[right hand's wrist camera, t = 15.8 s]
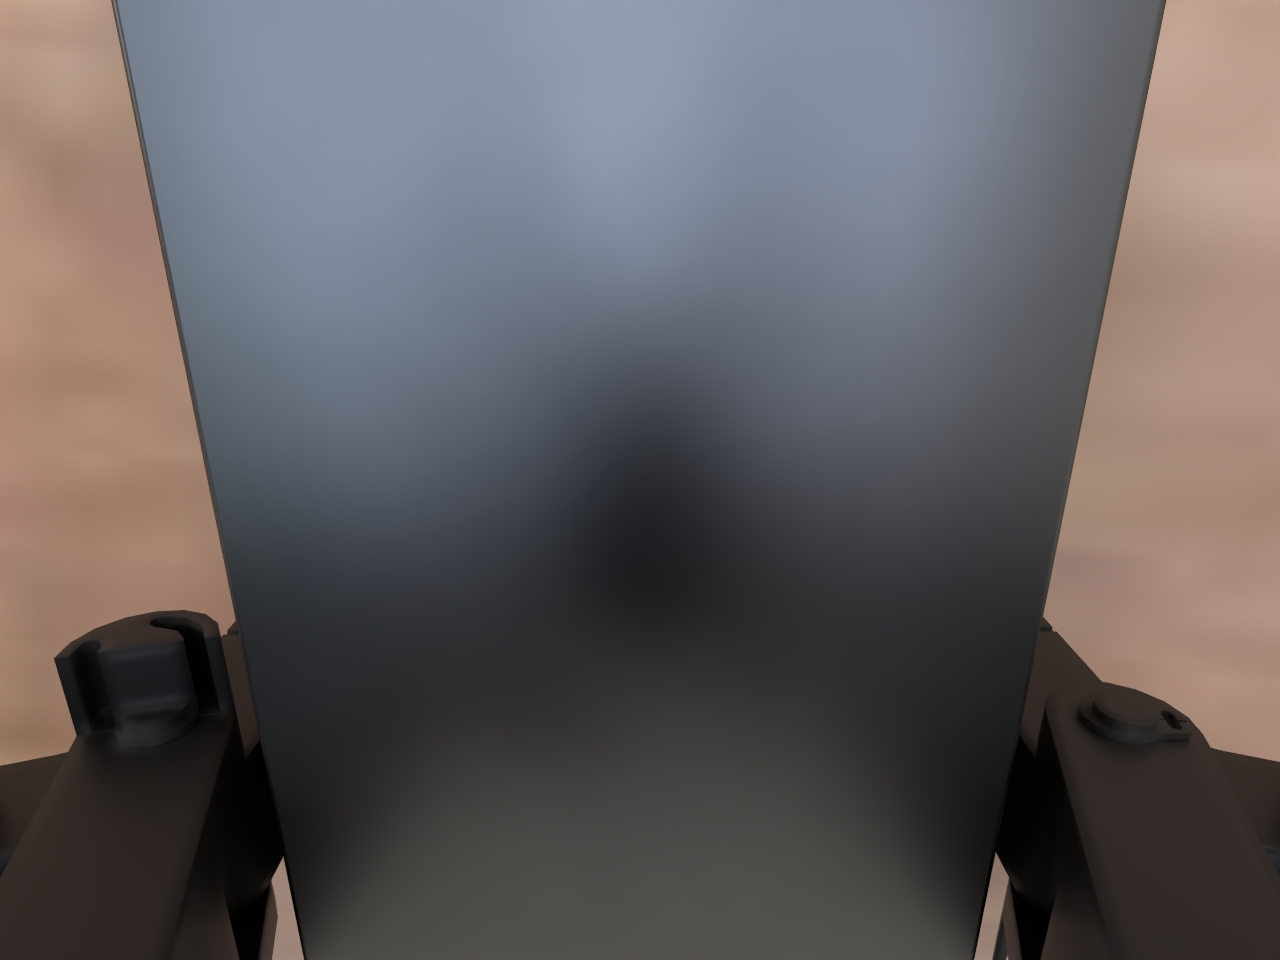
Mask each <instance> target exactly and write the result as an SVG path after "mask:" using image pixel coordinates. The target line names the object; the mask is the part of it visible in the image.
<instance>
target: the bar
mask: <svg viewBox="0 0 1280 960" xmlns="http://www.w3.org/2000/svg"><path fill="white" fill-rule="evenodd" d="M111 1H112V6H113V11H114V16H115V21H116V26H117V31H118V36H119V41H120V46H121V51H122V56H123V61H124V66H125V71H126V76H127V81H128V86H129V91H130V96H131V101H132V106H133V111H134V116H135V121H136V126H137V131H138V136H139V141H140V146H141V151H142V156H143V161H144V165H145V170H146V175H147V180H148V185H149V190H150V195H151V200H152V205H153V210H154V215H155V220H156V225H157V230H158V235H159V240H160V245H161V250H162V255H163V260H164V265H165V270H166V275H167V280H168V285H169V290H170V295H171V300H172V305H173V310H174V315H175V320H176V325H177V330H178V334H179V339H180V344H181V349H182V354H183V359H184V364H185V369H186V374H187V379H188V384H189V389H190V394H191V399H192V404H193V409H194V414H195V419H196V424H197V429H198V434H199V439H200V444H201V449H202V454H203V459H204V464H205V469H206V474H207V479H208V484H209V489H210V494H211V499H212V504H213V508H214V513H215V518H216V523H217V528H218V533H219V538H220V543H221V548H222V553H223V558H224V563H225V568H226V573H227V578H228V583H229V588H230V593H231V598H232V603H233V608H234V613H235V618H236V623H237V628H238V633H239V638H240V643H241V648H242V653H243V658H244V663H245V668H246V673H247V677H248V682H249V687H250V692H251V697H252V702H253V707H254V712H255V717H256V722H257V727H258V732H259V737H260V742H261V747H262V752H263V757H264V762H265V767H266V772H267V777H268V782H269V787H270V792H271V797H272V802H273V807H274V812H275V817H276V822H277V827H278V832H279V837H280V842H281V847H282V851H283V856H284V861H285V866H286V871H287V876H288V881H289V886H290V891H291V896H292V901H293V906H294V911H295V916H296V921H297V926H298V931H299V936H300V941H301V946H302V951H303V956H304V960H974V957H975V952H976V947H977V942H978V938H979V933H980V928H981V923H982V918H983V913H984V908H985V903H986V898H987V893H988V888H989V883H990V878H991V873H992V868H993V863H994V858H995V853H996V848H997V843H998V838H999V833H1000V828H1001V823H1002V818H1003V813H1004V808H1005V803H1006V798H1007V793H1008V788H1009V783H1010V778H1011V773H1012V768H1013V763H1014V758H1015V753H1016V748H1017V743H1018V738H1019V733H1020V728H1021V723H1022V718H1023V713H1024V708H1025V703H1026V698H1027V693H1028V688H1029V683H1030V678H1031V673H1032V668H1033V663H1034V658H1035V653H1036V648H1037V643H1038V638H1039V633H1040V628H1041V623H1042V618H1043V613H1044V608H1045V603H1046V598H1047V593H1048V588H1049V583H1050V578H1051V573H1052V568H1053V563H1054V558H1055V553H1056V548H1057V543H1058V538H1059V533H1060V528H1061V523H1062V518H1063V513H1064V508H1065V503H1066V498H1067V493H1068V488H1069V483H1070V478H1071V473H1072V468H1073V463H1074V458H1075V453H1076V448H1077V443H1078V438H1079V433H1080V428H1081V423H1082V418H1083V413H1084V408H1085V403H1086V398H1087V393H1088V388H1089V383H1090V378H1091V373H1092V368H1093V363H1094V358H1095V353H1096V348H1097V343H1098V338H1099V333H1100V328H1101V323H1102V318H1103V313H1104V308H1105V303H1106V298H1107V293H1108V288H1109V283H1110V278H1111V273H1112V268H1113V263H1114V258H1115V253H1116V248H1117V243H1118V238H1119V233H1120V228H1121V223H1122V218H1123V213H1124V208H1125V203H1126V198H1127V193H1128V188H1129V183H1130V178H1131V173H1132V168H1133V163H1134V158H1135V153H1136V148H1137V143H1138V138H1139V133H1140V128H1141V123H1142V118H1143V114H1144V109H1145V104H1146V99H1147V94H1148V89H1149V84H1150V79H1151V74H1152V69H1153V64H1154V59H1155V54H1156V49H1157V44H1158V39H1159V34H1160V29H1161V24H1162V19H1163V14H1164V9H1165V4H1166V0H111Z"/></svg>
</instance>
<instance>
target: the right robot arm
mask: <svg viewBox="0 0 1280 960" xmlns="http://www.w3.org/2000/svg"><path fill="white" fill-rule="evenodd" d="M54 660H55V663H56V667H57V670H58V674H59V677H60V680H61V684H62V687H63V691H64V694H65V697H66V701H67V704H68V708H69V711H70V714H71V718H72V721H73V725H74V728H75V731H76V735H77V737H76V739H75V740H74V742H73V744H72V746H71V748H70V750H69V751H68V752H66V753H62V754H58V755H54V756H48V757H43V758H38V759H33V760H28V761H23V762H18V763H13V764H8V765H3V766H0V960H272V954H273V947H274V940H275V933H276V926H277V919H278V916H277V908H276V900H275V895H274V890H273V886H272V881H271V879H272V877H273V875H274V873H275V872H276V870H277V868H278V866H279V864H280V862H281V860H282V858H283V851H282V847H281V842H280V837H279V832H278V827H277V822H276V817H275V812H274V807H273V802H272V797H271V792H270V787H269V782H268V777H267V772H266V767H265V762H264V757H263V752H262V747H261V742H260V737H259V732H258V727H257V722H256V717H255V712H254V707H253V702H252V697H251V692H250V687H249V682H248V677H247V673H246V668H245V663H244V658H243V653H242V648H241V643H240V638H239V633H238V628H237V623H236V621H235V622H234V624H233V625H232V626H231V627H230V628H229V629H228V633H227V635H223V636H222V637H221V636H220V631H219V626H218V623H217V622H216V621H214V620H213V619H212V618H210V617H209V616H207V615H206V614H202V613H197V612H191V611H186V610H177V611H156V612H151V613H146V614H141V615H136V616H132V617H127V618H124V619H121V620H118V621H115V622H112V623H110V624H107V625H104V626H101V627H98V628H96V629H94V630H92V631H90V632H89V633H87V634H85V635H83V636H81V637H80V638H78V639H76V640H74V641H72V642H71V643H70V644H68V645H67V646H66V647H65V648H64V649H63V650H62V651H61V652H60V653H59V654H58V655H57V656H56V657H55V658H54ZM996 853H997V855H998V857H999V859H1000V861H1001V863H1002V865H1003V867H1004V868H1005V870H1006V872H1007V874H1008V876H1009V881H1008V886H1007V890H1006V895H1005V900H1004V905H1003V910H1002V914H1001V919H1000V924H999V929H998V934H997V938H996V943H995V948H994V953H993V960H1006V957H1007V956H1008V959H1009V960H1280V762H1277V761H1272V760H1267V759H1262V758H1256V757H1251V756H1246V755H1241V754H1236V753H1231V752H1225V751H1221V750H1217V749H1213V748H1210V746H1209V744H1208V743H1207V741H1206V739H1205V737H1204V735H1203V734H1202V733H1201V732H1200V730H1199V729H1198V728H1197V727H1196V726H1195V725H1194V723H1193V722H1192V721H1191V720H1190V719H1189V718H1188V717H1187V716H1185V715H1184V714H1182V713H1181V712H1179V711H1178V710H1176V709H1175V708H1173V707H1172V706H1170V705H1169V704H1167V703H1166V702H1164V701H1162V700H1160V699H1157V698H1155V697H1152V696H1150V695H1148V694H1145V693H1143V692H1141V691H1138V690H1136V689H1132V688H1127V687H1123V686H1119V685H1115V684H1111V683H1106V682H1102V681H1101V680H1100V679H1099V678H1098V677H1097V676H1096V675H1095V674H1094V673H1093V671H1092V670H1091V669H1090V668H1089V667H1088V666H1087V665H1086V664H1085V663H1084V662H1083V660H1082V659H1081V658H1080V657H1079V656H1078V655H1077V654H1076V653H1075V652H1074V650H1073V649H1072V648H1071V647H1070V646H1069V645H1068V644H1067V643H1066V642H1065V641H1064V639H1063V638H1062V637H1061V636H1060V635H1059V634H1058V633H1057V632H1053V631H1052V626H1051V625H1050V624H1049V623H1048V622H1047V621H1046V619H1045V618H1044V617H1043V618H1042V623H1041V628H1040V633H1039V638H1038V643H1037V648H1036V653H1035V658H1034V663H1033V668H1032V673H1031V678H1030V683H1029V688H1028V693H1027V698H1026V703H1025V708H1024V713H1023V718H1022V723H1021V728H1020V733H1019V738H1018V743H1017V748H1016V753H1015V758H1014V763H1013V768H1012V773H1011V778H1010V783H1009V788H1008V793H1007V798H1006V803H1005V808H1004V813H1003V818H1002V823H1001V828H1000V833H999V838H998V843H997V848H996Z"/></svg>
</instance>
